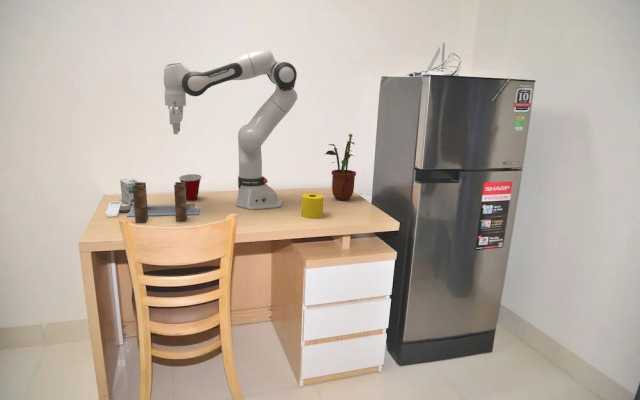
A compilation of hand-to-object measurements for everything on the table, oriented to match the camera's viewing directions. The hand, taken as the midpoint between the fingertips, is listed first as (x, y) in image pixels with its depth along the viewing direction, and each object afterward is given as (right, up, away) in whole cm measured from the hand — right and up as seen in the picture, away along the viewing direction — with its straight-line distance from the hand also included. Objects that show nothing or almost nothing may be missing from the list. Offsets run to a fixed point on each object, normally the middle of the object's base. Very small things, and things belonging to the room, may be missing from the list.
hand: (176, 132), depth 189 cm
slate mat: (-5, -36, 0) cm, 37 cm away
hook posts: (-3, -39, -10) cm, 40 cm away
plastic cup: (-1, -30, +23) cm, 38 cm away
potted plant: (+75, -30, +35) cm, 88 cm away
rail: (-5, -36, 0) cm, 36 cm away
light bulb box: (-26, -32, +14) cm, 43 cm away
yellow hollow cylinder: (+61, -38, +6) cm, 72 cm away
